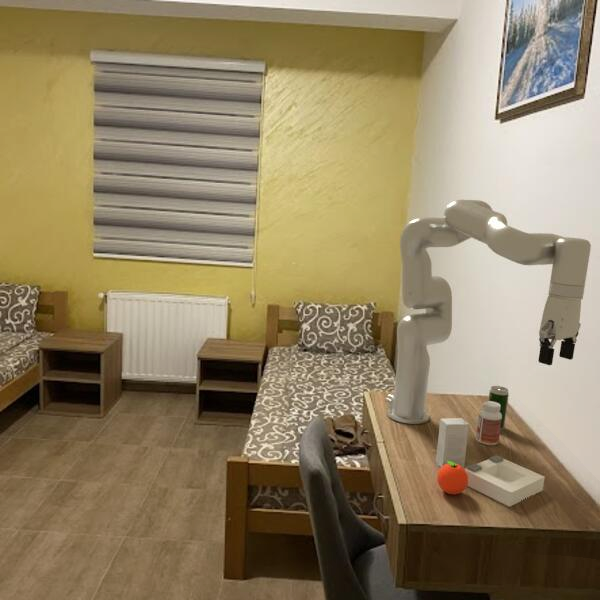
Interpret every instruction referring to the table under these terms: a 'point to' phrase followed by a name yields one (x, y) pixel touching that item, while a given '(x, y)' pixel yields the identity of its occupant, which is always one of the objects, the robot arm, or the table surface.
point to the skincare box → (452, 441)
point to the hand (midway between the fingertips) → (555, 360)
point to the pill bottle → (489, 423)
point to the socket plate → (504, 480)
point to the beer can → (500, 400)
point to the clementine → (452, 478)
